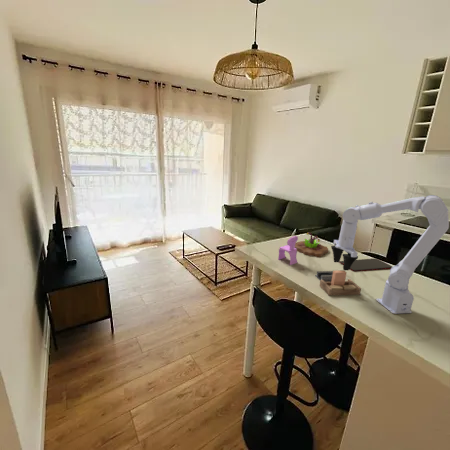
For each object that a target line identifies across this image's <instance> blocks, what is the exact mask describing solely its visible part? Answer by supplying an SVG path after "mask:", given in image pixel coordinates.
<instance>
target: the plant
mask: <svg viewBox="0 0 450 450" xmlns="http://www.w3.org/2000/svg"><path fill="white" fill-rule="evenodd" d="M306 235H307V236H309V235H310V238H309V239H306V238H304V240H302V241H297V242H296V244H295V248H296V249H297V253H301V254H303V255H304V256H308V257H315V258H320V257H323V256H324V255H325V254H329V248H328V246H325V245H322V244H321V240H320V238H319V237H318V235H314V236H313V234H312V233H311V232H307V233H306ZM316 239H317V240H316Z"/></svg>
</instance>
